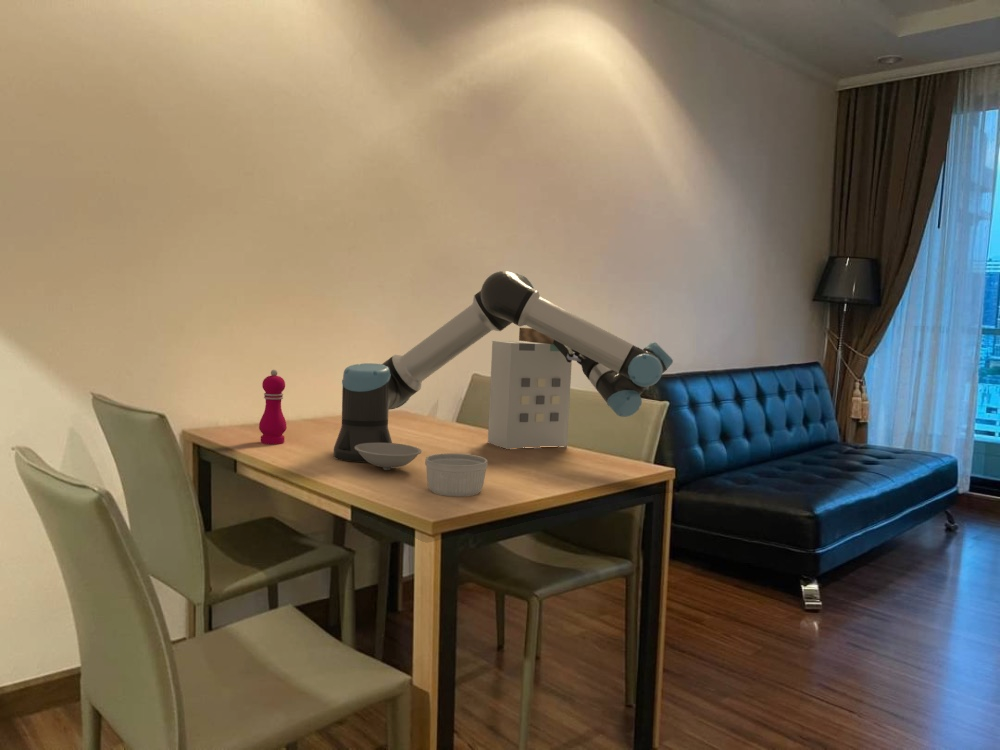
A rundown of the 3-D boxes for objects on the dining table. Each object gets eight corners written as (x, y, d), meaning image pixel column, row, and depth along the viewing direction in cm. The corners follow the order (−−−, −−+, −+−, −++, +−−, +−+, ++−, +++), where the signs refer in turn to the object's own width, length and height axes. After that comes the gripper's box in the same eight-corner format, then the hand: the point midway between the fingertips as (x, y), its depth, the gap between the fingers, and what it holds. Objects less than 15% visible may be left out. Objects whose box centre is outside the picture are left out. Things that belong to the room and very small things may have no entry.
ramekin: (471, 501, 157) (472, 467, 156) (413, 493, 162) (414, 460, 161) (495, 489, 169) (496, 457, 169) (440, 481, 174) (441, 450, 173)
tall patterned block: (568, 447, 227) (573, 344, 224) (507, 450, 218) (512, 343, 215) (546, 440, 238) (551, 342, 236) (487, 442, 229) (492, 340, 227)
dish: (434, 472, 183) (435, 451, 183) (387, 479, 173) (388, 457, 172) (387, 460, 195) (387, 440, 195) (339, 466, 185) (340, 445, 184)
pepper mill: (290, 441, 215) (291, 369, 214) (280, 445, 208) (282, 371, 207) (264, 439, 216) (266, 368, 215) (254, 443, 209) (255, 369, 207)
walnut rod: (586, 346, 213) (587, 332, 213) (574, 346, 211) (575, 331, 211) (530, 340, 241) (530, 328, 241) (518, 340, 239) (519, 327, 239)
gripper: (636, 360, 205) (596, 315, 222) (574, 359, 197) (537, 312, 214) (626, 383, 209) (587, 337, 226) (565, 383, 201) (530, 335, 218)
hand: (563, 325), depth 220 cm, fingers open, 6 cm apart
